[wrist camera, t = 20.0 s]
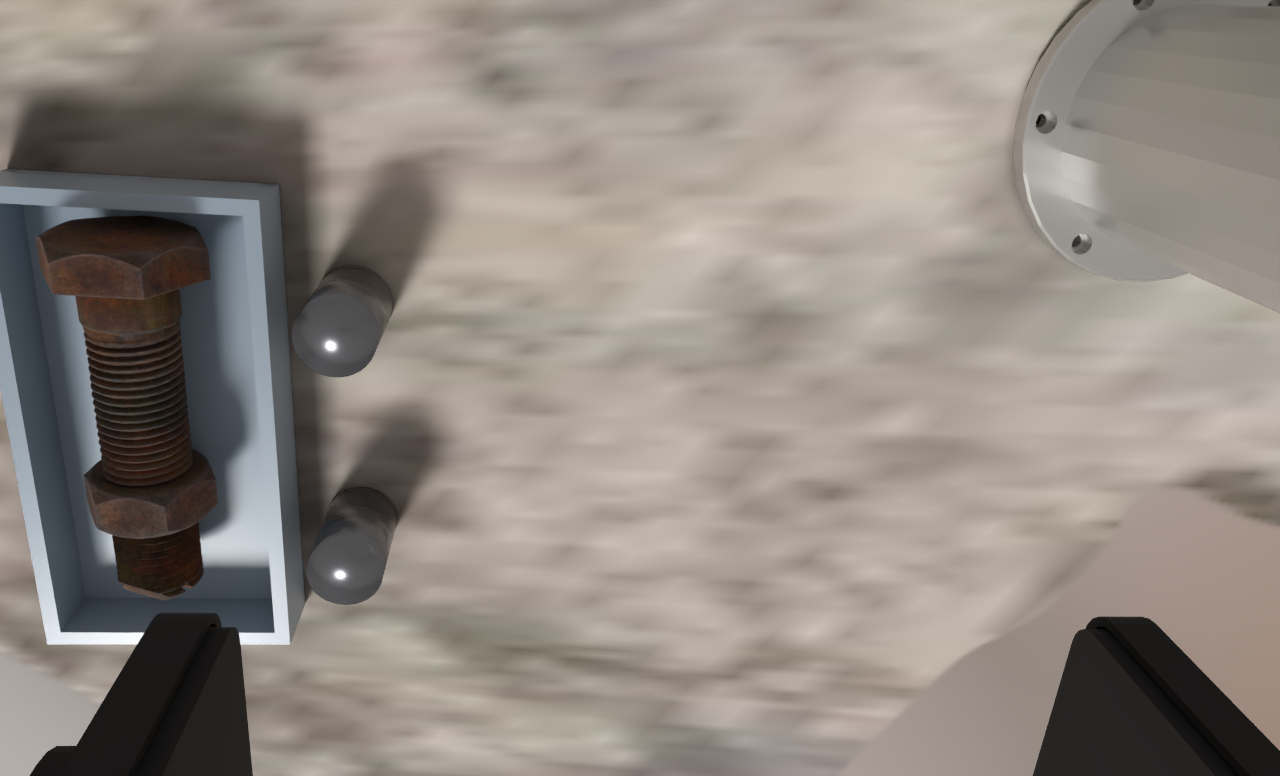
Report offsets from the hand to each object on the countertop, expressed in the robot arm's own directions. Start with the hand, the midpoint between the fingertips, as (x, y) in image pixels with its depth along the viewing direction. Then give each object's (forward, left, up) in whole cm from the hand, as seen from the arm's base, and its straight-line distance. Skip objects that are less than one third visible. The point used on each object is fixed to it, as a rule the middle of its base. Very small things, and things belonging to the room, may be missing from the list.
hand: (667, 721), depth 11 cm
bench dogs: (+9, +10, -30) cm, 33 cm away
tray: (+16, +10, -30) cm, 36 cm away
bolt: (+16, +9, -30) cm, 35 cm away
